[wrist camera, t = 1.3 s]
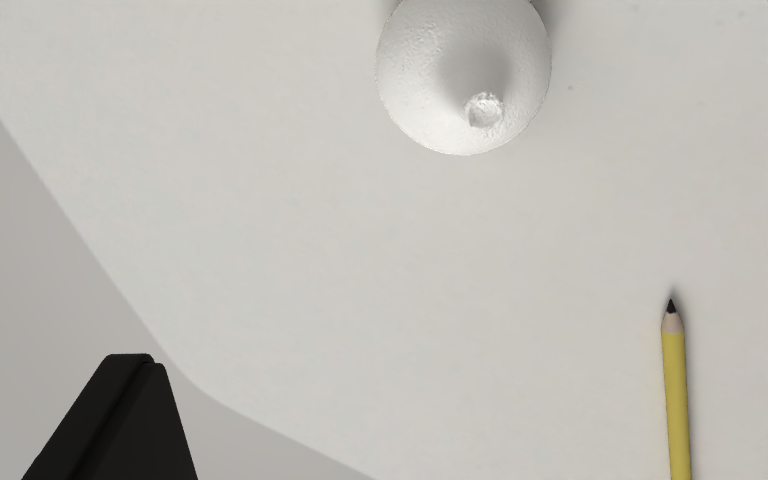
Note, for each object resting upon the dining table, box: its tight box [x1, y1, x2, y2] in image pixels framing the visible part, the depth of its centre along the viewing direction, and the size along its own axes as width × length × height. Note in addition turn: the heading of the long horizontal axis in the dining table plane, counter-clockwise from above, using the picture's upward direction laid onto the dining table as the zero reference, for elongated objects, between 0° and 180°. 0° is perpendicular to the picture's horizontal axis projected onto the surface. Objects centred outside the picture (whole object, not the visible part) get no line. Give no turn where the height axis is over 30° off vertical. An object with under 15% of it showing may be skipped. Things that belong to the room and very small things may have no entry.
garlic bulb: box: [375, 0, 551, 155], centre depth 23 cm, size 6×6×8 cm
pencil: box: [661, 298, 691, 480], centre depth 33 cm, size 1×14×1 cm, turn 14°
